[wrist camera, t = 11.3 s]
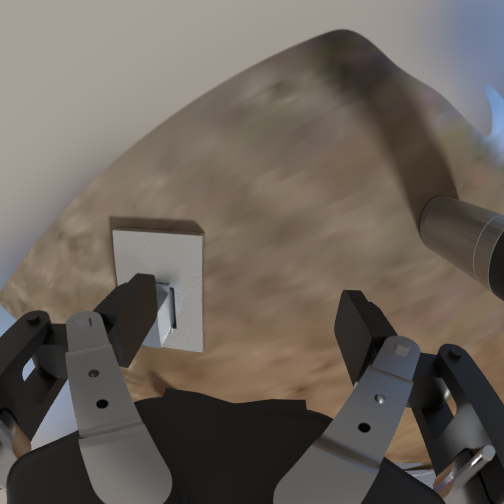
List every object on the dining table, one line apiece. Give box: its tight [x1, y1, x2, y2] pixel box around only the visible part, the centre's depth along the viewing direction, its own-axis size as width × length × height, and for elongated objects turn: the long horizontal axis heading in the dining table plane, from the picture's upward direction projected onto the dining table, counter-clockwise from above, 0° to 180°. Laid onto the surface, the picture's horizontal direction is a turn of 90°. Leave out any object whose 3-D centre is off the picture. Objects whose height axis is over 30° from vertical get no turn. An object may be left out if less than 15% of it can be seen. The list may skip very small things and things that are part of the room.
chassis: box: [113, 227, 205, 352], centre depth 42 cm, size 14×20×2 cm
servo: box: [142, 284, 175, 348], centre depth 40 cm, size 4×8×8 cm, turn 176°
